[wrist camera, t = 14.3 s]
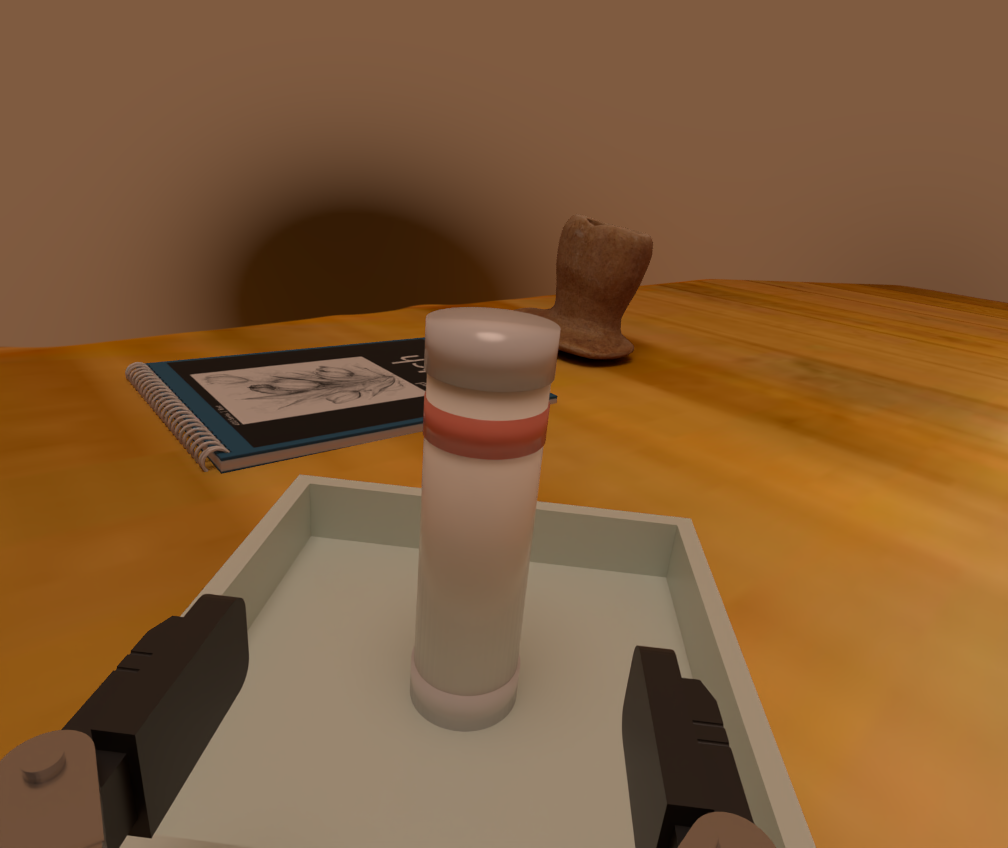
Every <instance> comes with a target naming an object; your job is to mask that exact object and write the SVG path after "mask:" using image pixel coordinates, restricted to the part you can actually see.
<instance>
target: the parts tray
mask: <svg viewBox="0 0 1008 848" xmlns="http://www.w3.org/2000/svg"><path fill="white" fill-rule="evenodd" d="M421 493H422V488H414V487H405V486H396V485H387V484H378V483H370V482H361V481H352V480H343V479H334V478H325V477H316V476H308V475H299V476H298V477H297V478H296V479H295V481H294V482H293V483H292V484H291V485H290V487H289V488H288V489H287V490H286V491H285V493H284V494H283V495H282V496H281V497H280V498H279V500H278V501H277V502H276V503H275V504H274V506H273V507H272V508H271V509H270V510H269V512H268V513H267V514H266V515H265V516H264V518H263V519H262V520H261V521H260V522H259V523H258V525H257V526H256V527H255V528H254V529H253V531H252V532H251V533H250V534H249V535H248V537H247V538H246V539H245V540H244V541H243V542H242V544H241V545H240V546H239V547H238V548H237V550H236V551H235V552H234V553H233V554H232V556H231V557H230V558H229V559H228V560H227V562H226V563H225V564H224V565H223V566H222V567H221V569H220V570H219V571H218V572H217V573H216V575H215V576H214V577H213V578H212V579H211V581H210V582H209V583H208V584H207V585H206V586H205V588H204V589H203V590H202V591H201V592H200V594H199V595H198V596H197V597H196V598H195V600H194V601H193V602H192V603H191V604H190V606H189V607H188V608H187V609H186V610H185V611H184V613H183V614H182V615H181V616H180V617H184V616H185V614H186V613H187V612H188V611H189V610H190V608H191V607H192V606H193V605H194V604H195V602H196V601H197V600H198V599H199V598H200V597H201V596H202V595H203V594H214V595H223V596H231V597H240V598H242V599H243V600H244V602H245V606H246V618H247V633H248V647H249V666H248V671H247V675H246V679H245V681H244V684H243V686H242V688H241V690H240V692H239V694H238V695H237V697H236V699H235V700H234V702H233V704H232V705H231V707H230V709H229V710H228V712H227V714H226V715H225V717H224V719H223V720H222V722H221V724H220V725H219V727H218V729H217V730H216V732H215V734H214V735H213V737H212V739H211V740H210V742H209V744H208V745H207V747H206V749H205V750H204V752H203V754H202V755H201V757H200V759H199V760H198V762H197V764H196V765H195V767H194V769H193V770H192V772H191V774H190V775H189V777H188V779H187V780H186V782H185V783H184V785H183V787H182V788H181V790H180V792H179V793H178V795H177V797H176V798H175V800H174V802H173V803H172V805H171V807H170V808H169V810H168V812H167V813H166V815H165V817H164V818H163V820H162V822H161V823H160V825H159V827H158V828H157V830H156V832H155V833H154V835H153V837H152V838H143V837H136V836H128V835H127V837H126V838H125V840H124V841H123V843H122V844H121V846H120V848H635V841H634V832H633V824H632V816H631V807H630V799H629V791H628V782H627V774H626V765H625V757H624V749H623V740H622V711H623V703H624V698H625V693H626V688H627V683H628V678H629V673H630V667H631V662H632V657H633V653H634V649H635V647H636V646H637V645H638V646H647V647H655V648H664V649H672V650H674V651H675V653H676V657H677V661H678V665H679V669H680V673H681V677H682V678H689V679H698V680H701V682H702V683H703V684H704V686H705V687H706V688H707V689H708V691H709V692H710V693H711V694H712V696H713V697H714V698H715V699H716V701H717V704H718V707H719V710H720V714H721V717H722V720H723V723H724V725H723V727H724V728H725V730H726V733H727V736H728V740H729V747H730V748H731V750H732V753H733V756H734V759H735V763H736V766H737V769H738V773H739V776H740V779H741V782H742V786H743V789H744V792H745V795H746V799H747V802H748V805H749V809H750V812H751V815H752V818H753V821H754V824H755V825H756V826H757V827H759V828H760V829H761V830H762V831H763V832H764V833H765V834H766V835H767V836H768V837H769V838H770V839H771V841H772V842H773V843H774V845H775V846H776V848H816V847H815V844H814V841H813V839H812V836H811V833H810V831H809V828H808V826H807V823H806V820H805V818H804V815H803V812H802V810H801V807H800V805H799V802H798V799H797V797H796V794H795V791H794V789H793V786H792V783H791V781H790V778H789V776H788V773H787V770H786V768H785V765H784V762H783V760H782V757H781V755H780V752H779V749H778V747H777V744H776V741H775V739H774V736H773V734H772V731H771V728H770V726H769V723H768V720H767V718H766V715H765V712H764V710H763V707H762V705H761V702H760V699H759V697H758V694H757V691H756V689H755V686H754V684H753V681H752V678H751V676H750V673H749V670H748V668H747V665H746V663H745V660H744V657H743V655H742V652H741V649H740V647H739V644H738V641H737V639H736V636H735V634H734V631H733V628H732V626H731V623H730V620H729V618H728V615H727V613H726V610H725V607H724V605H723V602H722V599H721V597H720V594H719V592H718V589H717V586H716V584H715V581H714V578H713V576H712V573H711V570H710V568H709V565H708V563H707V560H706V557H705V555H704V552H703V549H702V547H701V544H700V542H699V539H698V536H697V534H696V531H695V528H694V526H693V523H692V521H691V519H689V518H680V517H671V516H662V515H653V514H644V513H635V512H627V511H618V510H609V509H600V508H591V507H582V506H573V505H565V504H556V503H547V502H538V501H537V504H536V513H535V521H534V530H533V538H532V546H531V555H530V563H529V572H528V580H527V589H526V597H525V606H524V614H523V623H522V631H521V639H520V648H519V655H520V671H519V679H518V688H517V696H516V701H515V704H514V706H513V708H512V710H511V711H510V713H509V714H508V715H507V716H506V717H505V718H504V719H503V720H501V721H500V722H499V723H497V724H495V725H493V726H491V727H488V728H486V729H482V730H478V731H469V732H461V731H453V730H448V729H444V728H441V727H439V726H436V725H434V724H432V723H431V722H429V721H428V720H426V719H425V718H424V717H422V716H421V715H420V714H419V712H418V711H417V710H416V709H415V707H414V705H413V703H412V700H411V697H410V675H411V654H412V650H413V647H414V645H415V625H416V603H417V581H418V559H419V537H420V515H421Z"/></svg>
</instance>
